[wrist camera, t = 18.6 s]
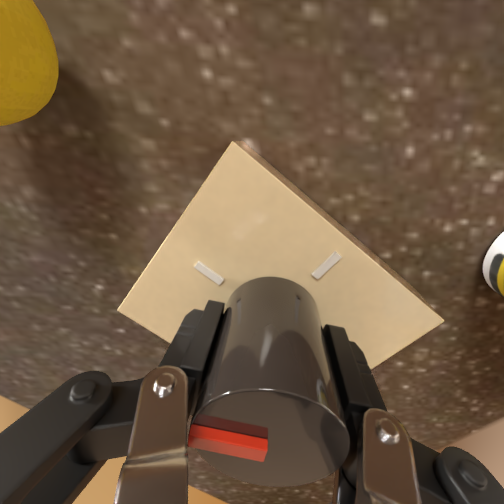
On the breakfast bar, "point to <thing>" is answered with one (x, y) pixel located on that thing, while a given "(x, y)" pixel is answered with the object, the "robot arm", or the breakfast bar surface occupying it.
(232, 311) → the hob knob
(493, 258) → the supplement bottle
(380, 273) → the knob base panel
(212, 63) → the breakfast bar surface
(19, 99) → the lemon
